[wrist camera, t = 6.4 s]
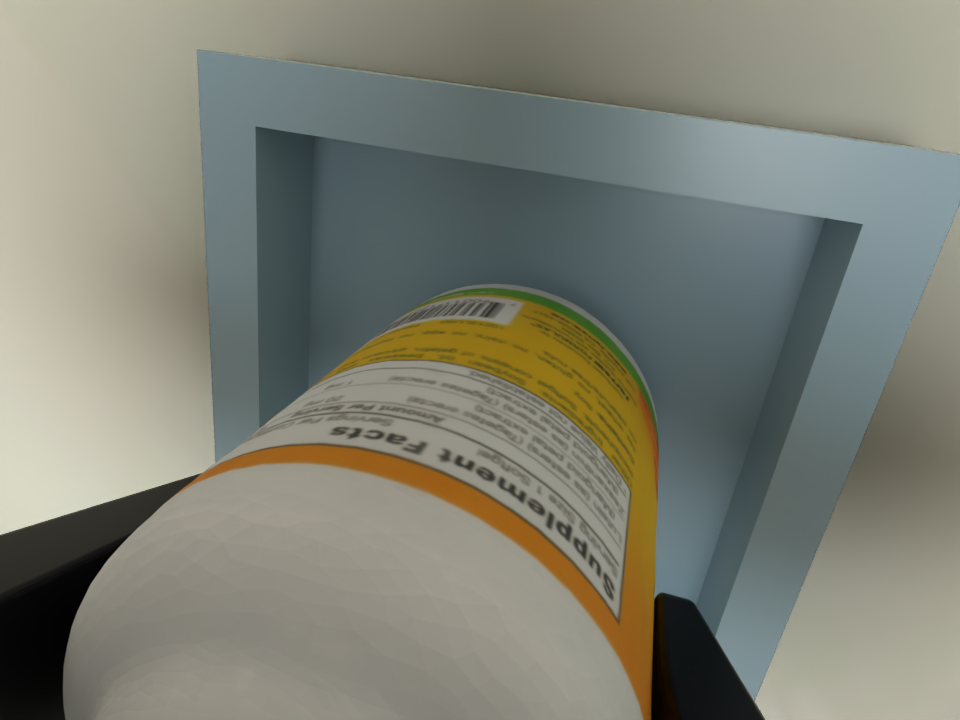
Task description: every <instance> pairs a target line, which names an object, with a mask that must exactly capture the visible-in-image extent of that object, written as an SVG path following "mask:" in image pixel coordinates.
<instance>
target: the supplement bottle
mask: <svg viewBox="0 0 960 720" xmlns="http://www.w3.org/2000/svg"><path fill="white" fill-rule="evenodd" d="M658 465H659V444H658V426H657V417H656V412H655V407H654V402H653V399H652V396H651V393H650V390H649V388H648V385H647V383H646V380H645V378H644V376H643V374H642V372H641V370H640V369H639V367H638V365H637V364H636V362H635V360H634V359H633V357H632V356H631V354H630V353H629V352H628V351H627V349H626V348H625V347H624V345H623V344H622V343H621V342H620V341H619V340H618V339H617V337H616V336H615V335H614V334H613V333H612V332H611V331H610V330H609V329H608V328H607V327H606V326H605V325H603V324H602V323H601V322H600V321H599V320H597V319H596V318H595V317H593V316H592V315H591V314H589V313H588V312H586V311H585V310H584V309H582V308H580V307H579V306H577V305H575V304H573V303H571V302H569V301H567V300H565V299H563V298H561V297H558V296H556V295H553V294H550V293H547V292H544V291H542V290H537V289H533V288H529V287H523V286H517V285H507V284H482V285H473V286H466V287H461V288H457V289H453V290H450V291H447V292H444V293H442V294H440V295H437V296H435V297H433V298H431V299H429V300H427V301H425V302H423V303H421V304H420V305H418V306H416V307H415V308H413V309H412V310H410V311H408V312H407V313H405V314H404V315H402V316H401V317H400V318H398V319H397V320H396V321H394V322H393V323H392V324H390V325H389V326H388V327H387V328H385V329H384V330H383V331H382V332H380V333H379V334H378V335H377V336H375V337H374V338H373V339H372V340H370V341H369V342H368V343H366V344H365V345H364V346H363V347H361V348H360V349H359V350H358V351H356V352H355V353H354V354H352V355H351V356H350V357H348V358H347V359H346V360H345V361H344V362H343V363H341V364H340V365H339V366H338V367H336V368H335V369H334V370H333V371H331V372H330V373H329V374H328V375H326V376H325V377H324V378H323V379H321V380H320V381H319V382H317V383H316V384H315V385H314V386H312V387H311V388H310V389H309V390H307V391H306V392H305V393H304V394H302V395H301V396H300V397H299V398H298V399H296V400H295V401H294V402H293V403H291V404H290V405H289V406H287V407H286V408H285V409H284V410H282V411H281V412H280V413H278V414H277V415H276V416H275V417H273V418H272V419H271V420H270V421H268V422H267V423H266V424H265V425H263V426H262V427H261V428H260V429H258V430H257V431H256V432H255V433H253V434H252V435H251V436H250V437H248V438H247V439H246V440H245V441H244V442H242V443H241V444H240V445H239V446H237V447H236V448H235V449H233V450H232V451H230V452H229V453H228V454H226V455H225V456H224V457H222V458H221V459H220V460H219V461H217V462H216V463H215V464H214V465H212V466H211V467H210V468H208V469H207V470H206V471H205V472H203V473H202V474H201V475H200V476H198V477H197V478H196V479H195V480H193V481H192V482H191V483H189V484H188V485H187V486H185V487H184V488H183V489H181V490H180V491H179V492H178V493H177V494H175V495H174V496H173V497H172V498H170V499H169V500H168V501H167V502H166V503H164V504H163V505H162V506H161V507H160V508H159V509H158V510H157V511H156V512H155V513H154V514H153V515H152V516H151V517H150V518H149V519H148V520H146V521H145V522H144V523H143V524H142V525H141V526H139V527H138V528H137V529H136V530H135V531H134V532H133V533H132V534H131V535H130V536H129V537H128V538H127V540H126V541H125V542H124V543H123V544H122V545H121V546H120V547H119V548H118V549H117V550H116V551H115V552H114V554H113V555H112V556H111V557H110V558H109V559H108V560H107V562H106V563H105V564H104V566H103V567H102V569H101V570H100V571H99V573H98V574H97V576H96V577H95V579H94V580H93V581H92V583H91V584H90V586H89V588H88V591H87V593H86V595H85V597H84V599H83V601H82V603H81V605H80V607H79V609H78V611H77V614H76V616H75V619H74V622H73V624H72V627H71V632H70V636H69V640H68V644H67V649H66V655H65V660H64V668H63V706H64V713H65V719H66V720H651V697H652V657H653V623H654V594H655V580H656V527H657V502H658Z"/></svg>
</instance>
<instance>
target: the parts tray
mask: <svg viewBox="0 0 960 720" xmlns="http://www.w3.org/2000/svg"><path fill="white" fill-rule="evenodd" d="M197 60H198V82H199V105H200V127H201V149H202V171H203V194H204V216H205V238H206V260H207V283H208V305H209V327H210V350H211V372H212V394H213V416H214V439H215V461H216V462H217V461H219V460H220V459H221V458H222V457H224V456H225V455H226V454H228V453H229V452H230V451H232V450H233V449H235V448H236V447H237V446H239V445H240V444H241V443H242V442H244V441H245V440H246V439H247V438H248V437H250V436H251V435H252V434H253V433H255V432H256V431H257V430H258V429H260V428H261V427H262V426H263V425H265V424H266V423H267V422H268V421H270V420H271V419H272V418H273V417H275V416H276V415H277V414H278V413H280V412H281V411H282V410H284V409H285V408H286V407H287V406H289V405H290V404H291V403H293V402H294V401H295V400H296V399H298V398H299V397H300V396H301V395H302V394H304V393H305V392H306V391H307V390H309V389H310V388H311V387H312V386H314V385H315V384H316V383H317V382H319V381H320V380H321V379H323V378H324V377H325V376H326V375H328V374H329V373H330V372H331V371H333V370H334V369H335V368H336V367H338V366H339V365H340V364H341V363H343V362H344V361H345V360H346V359H347V358H348V357H350V356H351V355H352V354H354V353H355V352H356V351H358V350H359V349H360V348H361V347H363V346H364V345H365V344H366V343H368V342H369V341H370V340H372V339H373V338H374V337H375V336H377V335H378V334H379V333H380V332H382V331H383V330H384V329H385V328H387V327H388V326H389V325H390V324H392V323H393V322H394V321H396V320H397V319H398V318H400V317H401V316H402V315H404V314H405V313H407V312H408V311H410V310H412V309H413V308H415V307H416V306H418V305H420V304H421V303H423V302H425V301H427V300H429V299H431V298H433V297H435V296H437V295H440V294H442V293H444V292H447V291H450V290H453V289H457V288H461V287H466V286H473V285H482V284H507V285H517V286H523V287H529V288H533V289H537V290H542V291H544V292H547V293H550V294H553V295H556V296H558V297H561V298H563V299H565V300H567V301H569V302H571V303H573V304H575V305H577V306H579V307H580V308H582V309H584V310H585V311H586V312H588V313H589V314H591V315H592V316H593V317H595V318H596V319H597V320H599V321H600V322H601V323H602V324H603V325H605V326H606V327H607V328H608V329H609V330H610V331H611V332H612V333H613V334H614V335H615V336H616V337H617V339H618V340H619V341H620V342H621V343H622V344H623V345H624V347H625V348H626V349H627V351H628V352H629V353H630V354H631V356H632V357H633V359H634V360H635V362H636V364H637V365H638V367H639V369H640V370H641V372H642V374H643V376H644V378H645V380H646V383H647V385H648V388H649V390H650V393H651V396H652V399H653V402H654V407H655V412H656V417H657V426H658V444H659V465H658V502H657V527H656V580H655V594H654V600H655V597H656V596H657V595H658V594H659V593H661V592H664V593H668V594H671V595H675V596H679V597H682V598H686V599H689V600H691V601H692V602H693V603H694V604H695V605H696V606H697V608H698V610H699V611H700V613H701V614H702V616H703V618H704V619H705V621H706V623H707V624H708V626H709V628H710V629H711V631H712V633H713V634H714V636H715V638H716V639H717V641H718V642H719V644H720V646H721V647H722V649H723V651H724V652H725V654H726V656H727V657H728V659H729V661H730V662H731V664H732V666H733V667H734V669H735V670H736V672H737V674H738V675H739V677H740V679H741V680H742V682H743V684H744V685H745V687H746V689H747V690H748V692H749V694H750V695H751V697H752V698H753V700H754V701H755V699H756V696H757V694H758V691H759V689H760V687H761V684H762V682H763V679H764V677H765V674H766V672H767V670H768V667H769V665H770V662H771V660H772V657H773V655H774V653H775V650H776V648H777V645H778V643H779V641H780V638H781V636H782V633H783V631H784V628H785V626H786V624H787V621H788V619H789V616H790V614H791V611H792V609H793V607H794V604H795V602H796V599H797V597H798V594H799V592H800V590H801V587H802V585H803V582H804V580H805V578H806V575H807V573H808V570H809V568H810V565H811V563H812V561H813V558H814V556H815V553H816V551H817V548H818V546H819V544H820V541H821V539H822V536H823V534H824V531H825V529H826V527H827V524H828V522H829V519H830V517H831V515H832V512H833V510H834V507H835V505H836V502H837V500H838V498H839V495H840V493H841V490H842V488H843V485H844V483H845V481H846V478H847V476H848V473H849V471H850V469H851V466H852V464H853V461H854V459H855V456H856V454H857V452H858V449H859V447H860V444H861V442H862V439H863V437H864V435H865V432H866V430H867V427H868V425H869V422H870V420H871V418H872V415H873V413H874V410H875V408H876V406H877V403H878V401H879V398H880V396H881V393H882V391H883V389H884V386H885V384H886V381H887V379H888V376H889V374H890V372H891V369H892V367H893V364H894V362H895V359H896V357H897V355H898V352H899V350H900V347H901V345H902V343H903V340H904V338H905V335H906V333H907V330H908V328H909V326H910V323H911V321H912V318H913V316H914V313H915V311H916V309H917V306H918V304H919V301H920V299H921V296H922V294H923V292H924V289H925V287H926V284H927V282H928V280H929V277H930V275H931V272H932V270H933V267H934V265H935V263H936V260H937V258H938V255H939V253H940V250H941V248H942V246H943V243H944V241H945V238H946V236H947V234H948V231H949V229H950V226H951V224H952V221H953V219H954V217H955V214H956V212H957V209H958V207H959V204H960V154H956V153H950V152H944V151H938V150H933V149H927V148H921V147H915V146H909V145H902V144H895V143H888V142H880V141H873V140H866V139H858V138H851V137H844V136H837V135H829V134H822V133H815V132H808V131H800V130H793V129H786V128H779V127H771V126H764V125H757V124H749V123H742V122H735V121H728V120H720V119H713V118H706V117H699V116H691V115H684V114H677V113H669V112H662V111H655V110H648V109H640V108H633V107H626V106H619V105H611V104H604V103H597V102H589V101H582V100H575V99H568V98H560V97H553V96H546V95H539V94H531V93H524V92H517V91H510V90H502V89H495V88H488V87H480V86H473V85H466V84H459V83H451V82H444V81H437V80H430V79H422V78H415V77H408V76H400V75H393V74H386V73H379V72H371V71H364V70H357V69H350V68H342V67H335V66H328V65H321V64H313V63H306V62H299V61H291V60H284V59H276V58H267V57H258V56H250V55H241V54H232V53H224V52H215V51H206V50H197Z"/></svg>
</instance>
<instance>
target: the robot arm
mask: <svg viewBox="0 0 960 720" xmlns="http://www.w3.org/2000/svg"><path fill="white" fill-rule="evenodd" d="M201 474H202V473H201ZM201 474H197V475H194V476H191V477H188V478H184V479H181V480H178V481H175V482H171V483H168V484H165V485H162V486H158V487H155V488H152V489H149V490H145V491H142V492H139V493H136V494H132V495H129V496H126V497H123V498H119V499H116V500H113V501H110V502H106V503H103V504H100V505H97V506H93V507H90V508H87V509H84V510H80V511H77V512H74V513H70V514H67V515H64V516H61V517H57V518H54V519H51V520H48V521H44V522H41V523H38V524H35V525H31V526H28V527H25V528H22V529H18V530H15V531H12V532H9V533H5V534H2V535H0V720H66V719H65V713H64V706H63V668H64V660H65V655H66V649H67V644H68V640H69V636H70V632H71V627H72V624H73V622H74V619H75V616H76V614H77V611H78V609H79V607H80V605H81V603H82V601H83V599H84V597H85V595H86V593H87V591H88V588H89V586H90V584H91V583H92V581H93V580H94V579H95V577H96V576H97V574H98V573H99V571H100V570H101V569H102V567H103V566H104V564H105V563H106V562H107V560H108V559H109V558H110V557H111V556H112V555H113V554H114V552H115V551H116V550H117V549H118V548H119V547H120V546H121V545H122V544H123V543H124V542H125V541H126V540H127V538H128V537H129V536H130V535H131V534H132V533H133V532H134V531H135V530H136V529H137V528H138V527H139V526H141V525H142V524H143V523H144V522H145V521H146V520H148V519H149V518H150V517H151V516H152V515H153V514H154V513H155V512H156V511H157V510H158V509H159V508H160V507H161V506H162V505H163V504H164V503H166V502H167V501H168V500H169V499H170V498H172V497H173V496H174V495H175V494H177V493H178V492H179V491H180V490H181V489H183V488H184V487H185V486H187V485H188V484H189V483H191V482H192V481H193V480H195V479H196V478H197V477H198V476H200V475H201ZM651 720H765V718H764V717H763V715H762V713H761V712H760V710H759V708H758V707H757V705H756V703H755V702H754V700H753V698H752V697H751V695H750V694H749V692H748V690H747V689H746V687H745V685H744V684H743V682H742V680H741V679H740V677H739V675H738V674H737V672H736V670H735V669H734V667H733V666H732V664H731V662H730V661H729V659H728V657H727V656H726V654H725V652H724V651H723V649H722V647H721V646H720V644H719V642H718V641H717V639H716V638H715V636H714V634H713V633H712V631H711V629H710V628H709V626H708V624H707V623H706V621H705V619H704V618H703V616H702V614H701V613H700V611H699V610H698V608H697V606H696V605H695V604H694V603H693V602H692V601H691V600H689V599H686V598H682V597H679V596H675V595H671V594H668V593H664V592H661V593H659V594H658V595H657V596H656V597H655V600H654V623H653V657H652V697H651Z"/></svg>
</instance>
